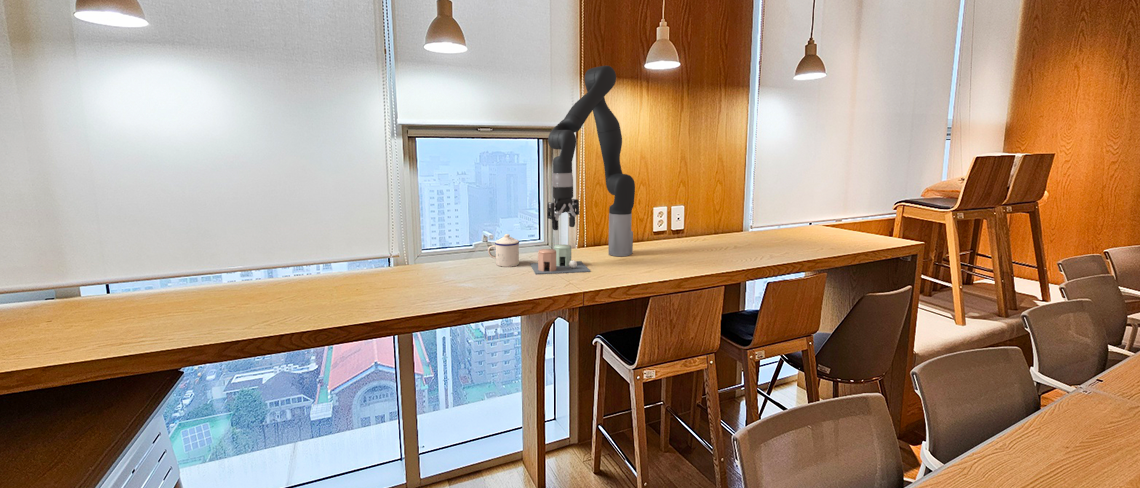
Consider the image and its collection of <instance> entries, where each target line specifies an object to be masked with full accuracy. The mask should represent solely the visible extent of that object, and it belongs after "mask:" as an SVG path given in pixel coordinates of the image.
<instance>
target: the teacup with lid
mask: <svg viewBox="0 0 1140 488" xmlns="http://www.w3.org/2000/svg"><path fill="white" fill-rule="evenodd" d="M519 245H520V241H519V240H518V239H515V238H514V237H512V236H510V234H509V233H507V234H506V233H505V234H504V236H503V237H500V239H496V240H495V243H494V245H490V246H489V247H488V248H487V253H488V255H489V257H490V258H492V259H495V264H496V266H497V267H501V266H502V267H501V268H509V267H510V268H513V267H518V265H519V263H520V260H519V259H520V254H519V252H520V250H519V249H520V247H519ZM491 248H495V255H493V254H492V253H491ZM512 266H513V267H512Z"/></svg>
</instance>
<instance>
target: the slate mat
mask: <svg viewBox="0 0 1140 488" xmlns="http://www.w3.org/2000/svg"><path fill="white" fill-rule="evenodd" d="M575 261H576V260H575ZM576 262H577V266H576V267H575V268H570V267H569V266H565V263H560V266H556V270H555V271H551V272H550V268H544V271H539V270H538V262H530V263H529V265H530V267H531V269H532V270H533V272H534V274H535V275H548V274H549V275H552V274H553V275H554V274H573V273H574V274H575V273H576V274H577V273H591V272H592V271H591V269H590V268H588V266H587V265H586V264H585V263H584V262H583V261H582V260H577V261H576Z"/></svg>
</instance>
